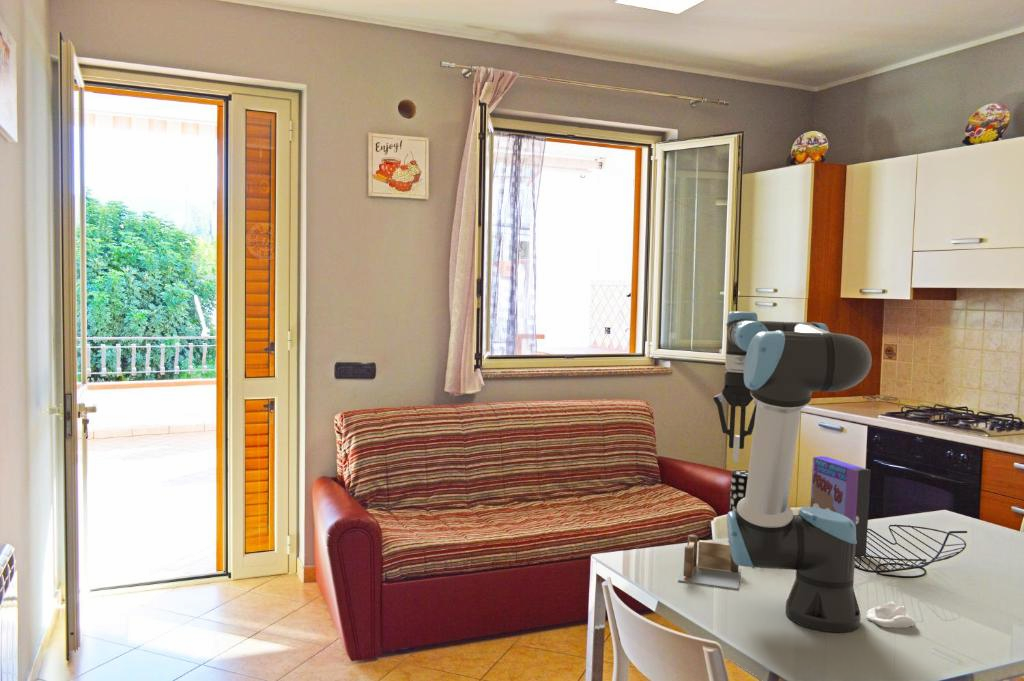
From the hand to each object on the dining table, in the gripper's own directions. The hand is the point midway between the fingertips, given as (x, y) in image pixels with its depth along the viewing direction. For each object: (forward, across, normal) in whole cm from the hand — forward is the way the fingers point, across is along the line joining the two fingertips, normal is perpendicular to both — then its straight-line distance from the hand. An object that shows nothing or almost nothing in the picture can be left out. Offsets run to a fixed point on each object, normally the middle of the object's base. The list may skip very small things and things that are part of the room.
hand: (735, 460), depth 207 cm
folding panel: (+25, -10, -16) cm, 31 cm away
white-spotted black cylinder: (+27, +3, +15) cm, 31 cm away
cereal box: (+27, +28, +22) cm, 44 cm away
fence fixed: (+26, -4, -10) cm, 29 cm away
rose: (+27, +34, -29) cm, 52 cm away
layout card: (+26, -5, -15) cm, 31 cm away
